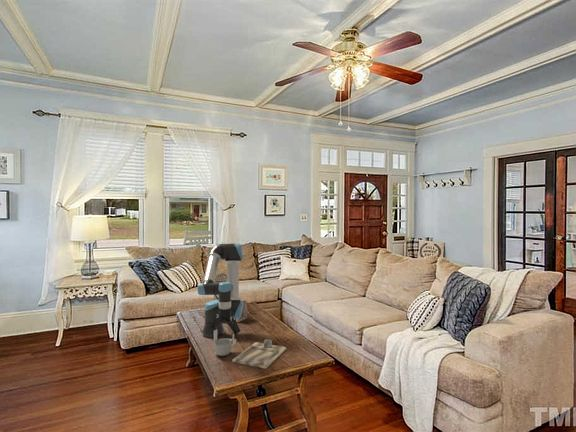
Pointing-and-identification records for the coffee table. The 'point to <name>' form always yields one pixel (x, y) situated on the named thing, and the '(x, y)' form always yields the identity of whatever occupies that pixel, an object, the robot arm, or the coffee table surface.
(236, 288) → the robot arm
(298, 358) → the coffee table surface
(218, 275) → the geometric lantern
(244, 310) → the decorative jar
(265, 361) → the carrier board
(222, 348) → the teacup
